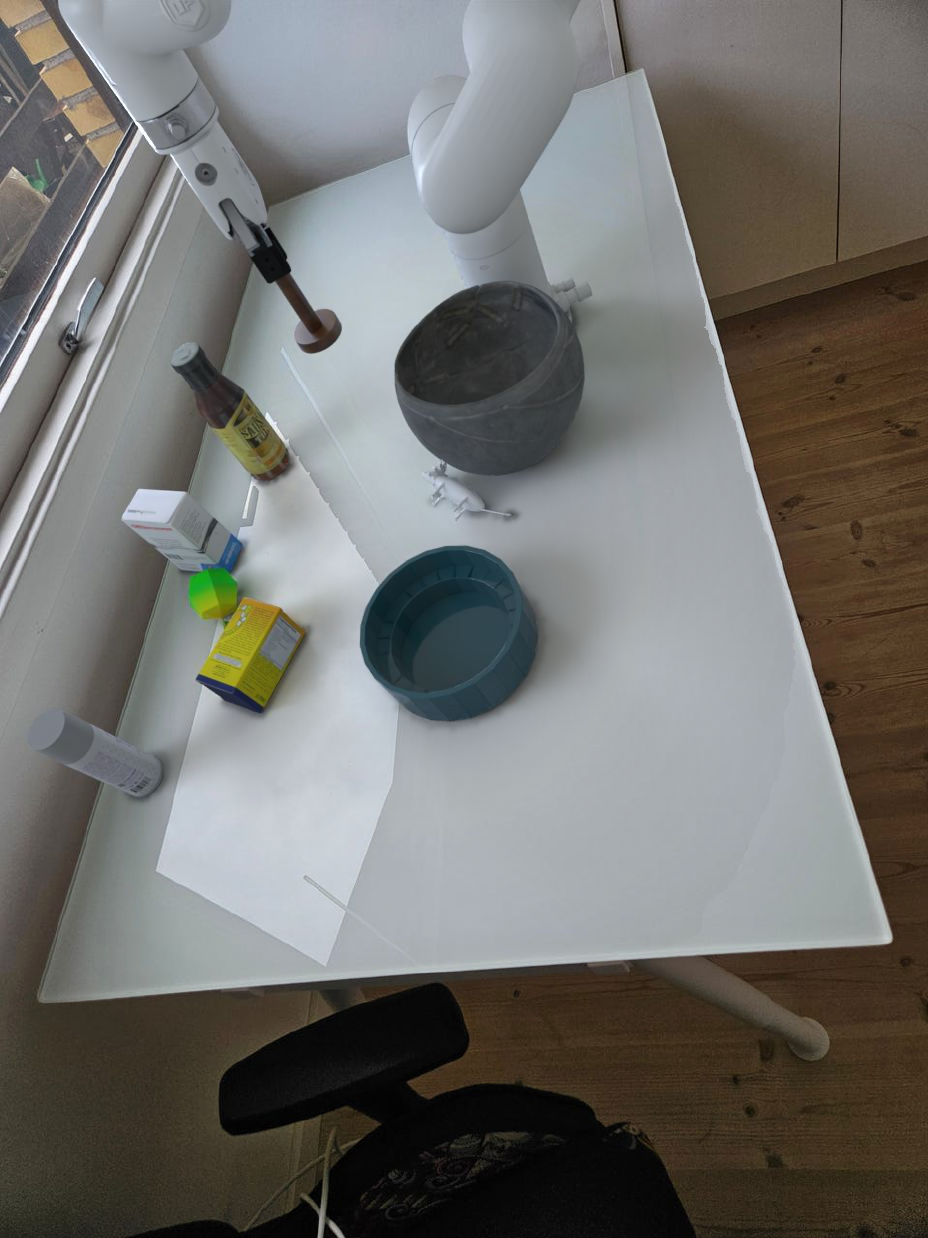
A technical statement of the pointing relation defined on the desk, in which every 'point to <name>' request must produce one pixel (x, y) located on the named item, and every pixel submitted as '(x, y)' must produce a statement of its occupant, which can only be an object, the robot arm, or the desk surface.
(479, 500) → the white plastic figurine
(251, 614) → the supplement box
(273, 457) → the sauce bottle
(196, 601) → the green faceted rounded lump
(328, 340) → the wooden potato masher
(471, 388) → the bowl
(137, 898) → the desk surface
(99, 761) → the container
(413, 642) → the mixing bowl
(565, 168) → the desk surface
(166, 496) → the ink box
